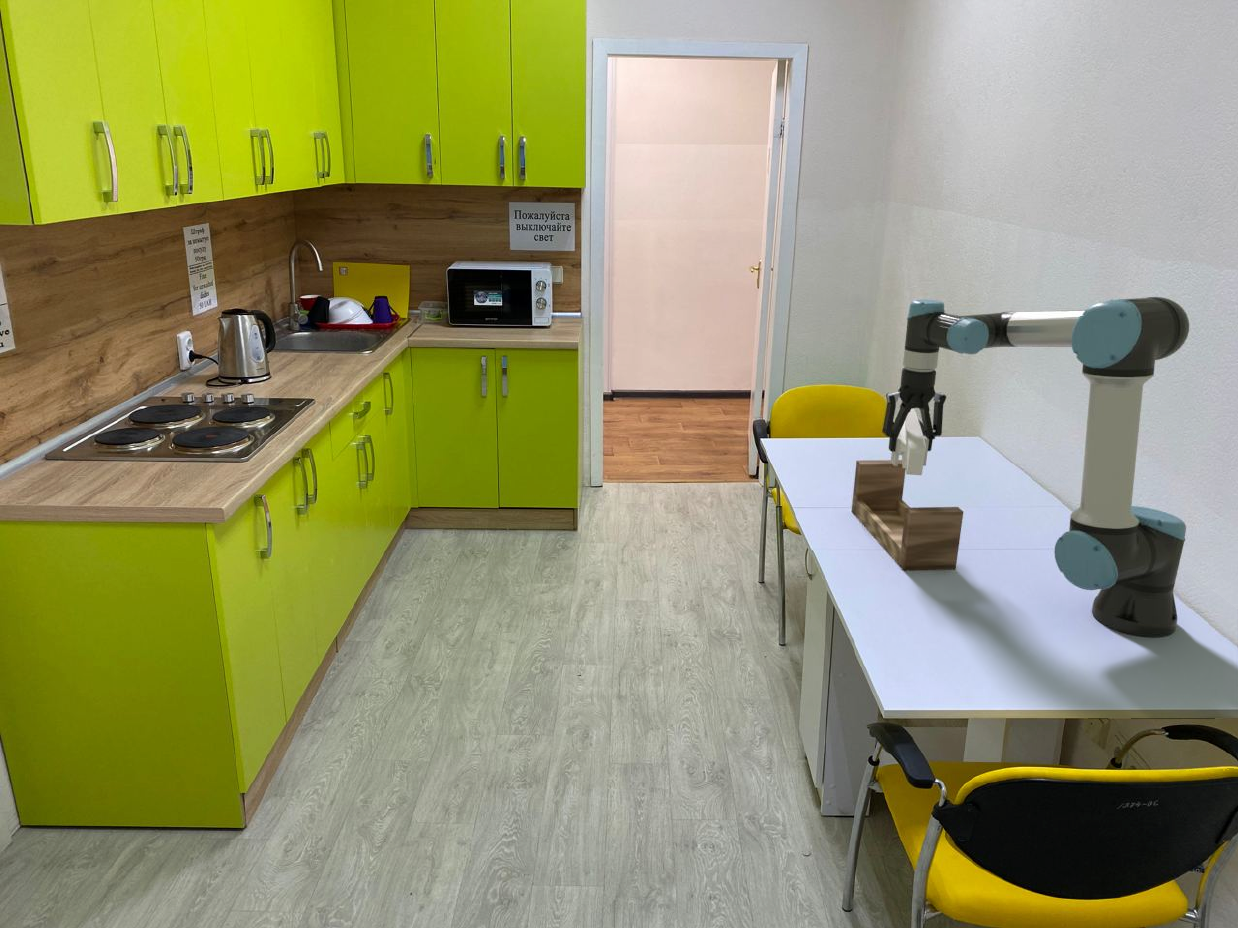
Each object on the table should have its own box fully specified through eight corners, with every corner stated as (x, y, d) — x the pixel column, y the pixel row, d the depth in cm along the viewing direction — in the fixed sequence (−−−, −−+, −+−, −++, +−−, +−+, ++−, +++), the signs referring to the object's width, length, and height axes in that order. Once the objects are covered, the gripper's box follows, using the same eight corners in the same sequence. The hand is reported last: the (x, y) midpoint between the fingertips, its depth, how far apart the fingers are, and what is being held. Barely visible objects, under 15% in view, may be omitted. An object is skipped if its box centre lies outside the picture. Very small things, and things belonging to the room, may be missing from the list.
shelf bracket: (914, 447, 239) (920, 402, 233) (923, 499, 218) (930, 451, 212) (891, 446, 240) (897, 401, 234) (898, 498, 219) (904, 450, 213)
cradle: (955, 569, 215) (963, 511, 210) (903, 570, 214) (910, 512, 209) (896, 510, 250) (901, 460, 245) (851, 511, 249) (856, 460, 244)
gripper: (952, 364, 223) (940, 458, 230) (873, 364, 221) (863, 459, 229) (966, 371, 216) (953, 468, 223) (884, 372, 214) (874, 469, 222)
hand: (908, 463), depth 226 cm, fingers closed on shelf bracket, 6 cm apart
